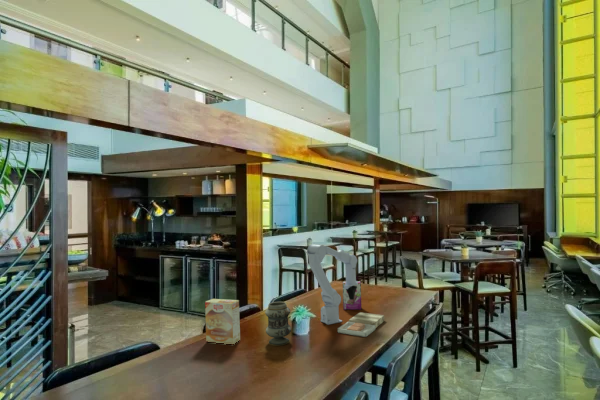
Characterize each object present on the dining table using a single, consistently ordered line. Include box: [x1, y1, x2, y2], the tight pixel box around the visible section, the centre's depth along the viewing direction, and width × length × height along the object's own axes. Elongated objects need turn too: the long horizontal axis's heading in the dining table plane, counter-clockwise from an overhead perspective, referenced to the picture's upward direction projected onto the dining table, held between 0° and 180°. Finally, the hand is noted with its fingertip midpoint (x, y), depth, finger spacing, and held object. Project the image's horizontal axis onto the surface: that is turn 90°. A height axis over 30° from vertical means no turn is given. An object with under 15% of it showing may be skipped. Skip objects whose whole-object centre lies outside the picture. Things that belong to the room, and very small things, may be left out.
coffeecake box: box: [204, 298, 241, 345], centre depth 177 cm, size 15×7×20 cm, turn 70°
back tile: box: [352, 323, 365, 330], centre depth 186 cm, size 5×5×2 cm
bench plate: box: [348, 311, 385, 329], centre depth 196 cm, size 15×14×3 cm
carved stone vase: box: [264, 301, 292, 347], centre depth 173 cm, size 12×12×18 cm
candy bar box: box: [342, 280, 362, 311], centre depth 226 cm, size 11×5×16 cm, turn 84°
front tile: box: [347, 326, 361, 331], centre depth 181 cm, size 5×5×2 cm
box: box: [337, 321, 376, 338], centre depth 184 cm, size 13×15×2 cm
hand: (351, 299), depth 211 cm, fingers closed
